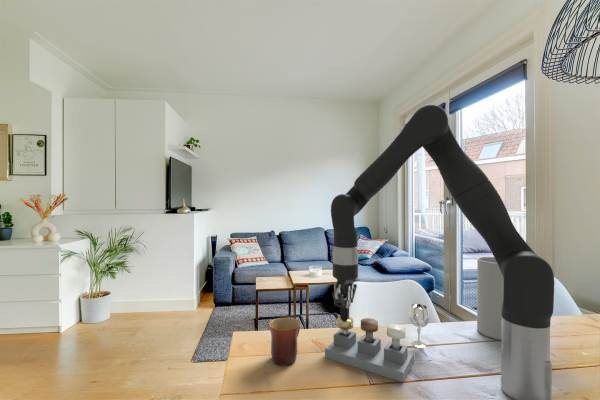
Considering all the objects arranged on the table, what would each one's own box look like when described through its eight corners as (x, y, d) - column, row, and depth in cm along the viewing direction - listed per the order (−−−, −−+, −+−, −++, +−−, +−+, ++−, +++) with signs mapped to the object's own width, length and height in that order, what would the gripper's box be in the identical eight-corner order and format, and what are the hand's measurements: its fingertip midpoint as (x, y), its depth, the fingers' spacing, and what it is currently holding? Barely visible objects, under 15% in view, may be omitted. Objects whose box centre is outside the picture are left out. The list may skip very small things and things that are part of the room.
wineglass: (430, 349, 92) (430, 310, 92) (410, 348, 94) (410, 308, 93) (426, 341, 98) (426, 303, 98) (407, 339, 99) (408, 302, 99)
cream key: (407, 348, 84) (407, 326, 84) (402, 356, 79) (402, 333, 79) (389, 343, 86) (389, 322, 86) (384, 351, 82) (384, 328, 82)
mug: (288, 372, 80) (288, 333, 80) (262, 362, 85) (262, 325, 85) (310, 352, 90) (310, 317, 90) (286, 345, 95) (286, 312, 95)
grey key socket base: (414, 360, 86) (414, 341, 86) (403, 382, 76) (403, 360, 76) (342, 341, 98) (342, 324, 98) (324, 357, 88) (325, 338, 88)
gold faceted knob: (355, 338, 92) (355, 318, 92) (349, 344, 88) (349, 323, 88) (341, 334, 94) (341, 315, 94) (334, 340, 90) (334, 320, 90)
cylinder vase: (468, 329, 107) (469, 258, 107) (492, 324, 112) (493, 255, 112) (504, 345, 96) (505, 265, 95) (529, 338, 100) (530, 262, 100)
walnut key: (380, 341, 88) (380, 320, 88) (374, 348, 84) (374, 326, 84) (364, 337, 90) (364, 317, 90) (358, 343, 86) (358, 322, 86)
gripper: (347, 267, 83) (347, 330, 83) (365, 259, 94) (364, 315, 94) (323, 263, 87) (323, 324, 87) (343, 256, 98) (342, 310, 99)
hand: (344, 319), depth 91 cm, fingers closed
